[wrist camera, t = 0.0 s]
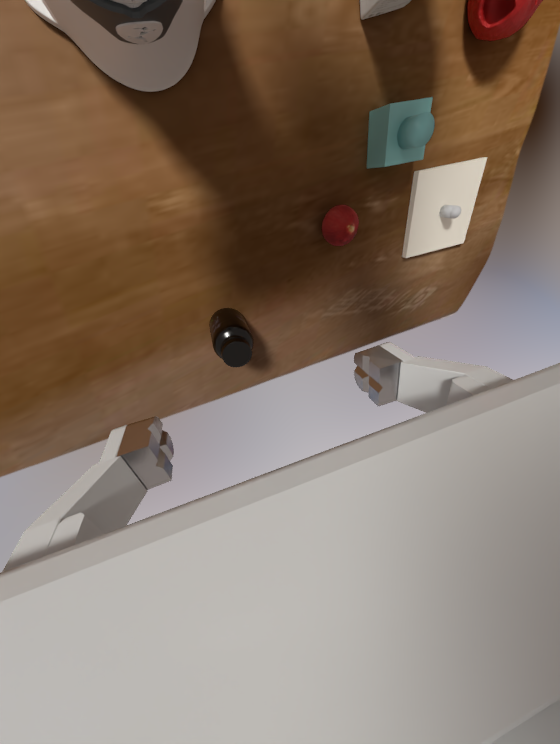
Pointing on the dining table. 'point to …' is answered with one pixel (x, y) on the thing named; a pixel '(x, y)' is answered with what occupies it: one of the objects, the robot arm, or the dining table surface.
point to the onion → (340, 225)
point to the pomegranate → (499, 17)
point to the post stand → (441, 206)
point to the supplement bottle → (231, 337)
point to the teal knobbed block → (399, 132)
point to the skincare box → (379, 7)
